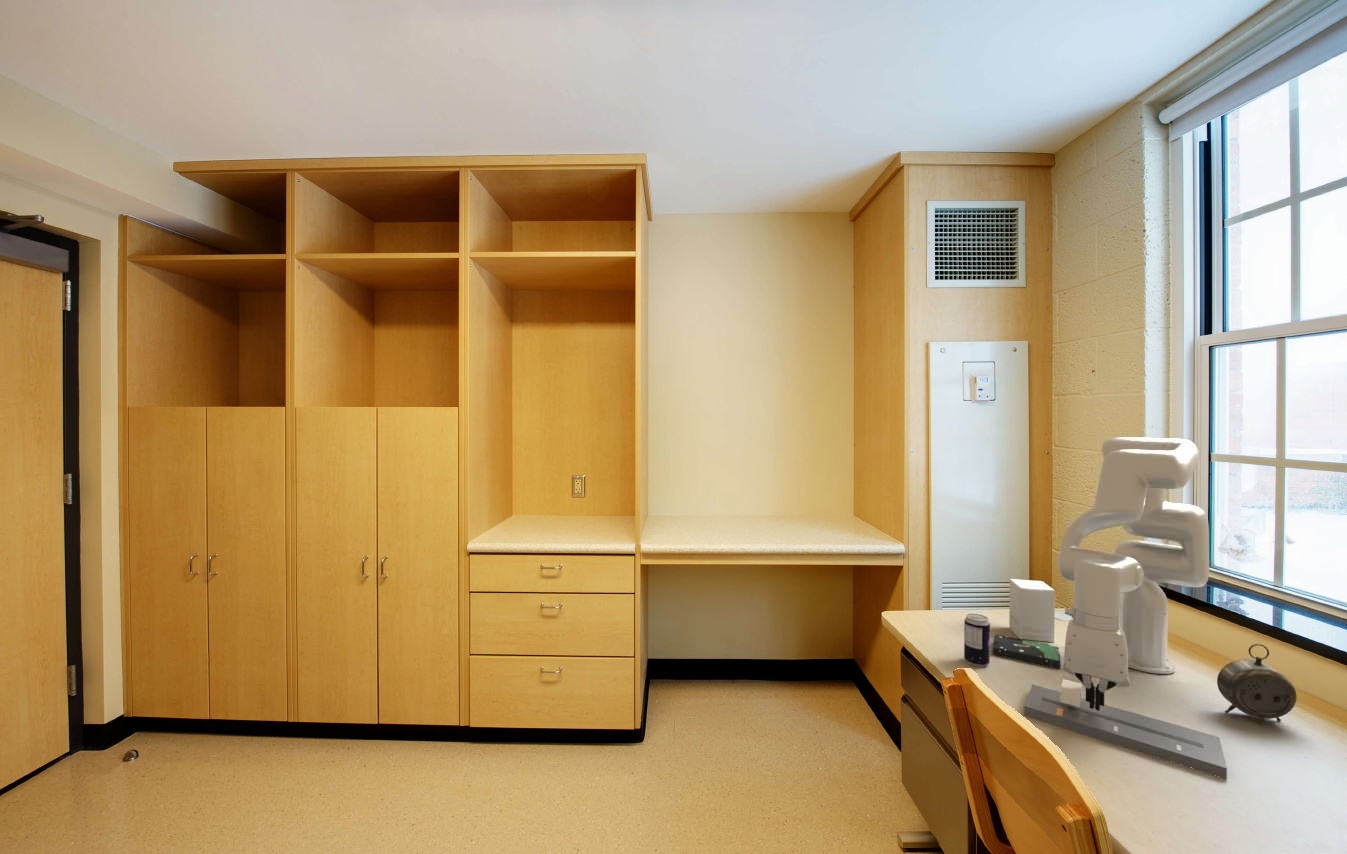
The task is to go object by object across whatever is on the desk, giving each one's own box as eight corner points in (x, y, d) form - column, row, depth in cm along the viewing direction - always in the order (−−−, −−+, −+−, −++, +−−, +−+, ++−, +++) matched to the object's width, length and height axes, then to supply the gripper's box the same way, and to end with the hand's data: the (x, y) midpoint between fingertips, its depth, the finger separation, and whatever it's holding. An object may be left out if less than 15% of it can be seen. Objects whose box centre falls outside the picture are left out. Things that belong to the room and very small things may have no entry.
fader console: (1032, 692, 121) (1032, 684, 121) (1218, 747, 101) (1218, 736, 101) (1023, 715, 112) (1023, 705, 112) (1226, 779, 92) (1226, 768, 92)
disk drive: (992, 657, 140) (1061, 671, 132) (992, 647, 140) (1061, 660, 132) (993, 643, 149) (1058, 655, 141) (993, 633, 149) (1058, 645, 141)
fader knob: (1063, 698, 114) (1063, 679, 114) (1081, 703, 112) (1081, 684, 112) (1060, 707, 111) (1061, 687, 111) (1079, 712, 109) (1080, 692, 109)
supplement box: (1055, 643, 147) (1056, 590, 147) (1019, 639, 150) (1019, 587, 149) (1042, 630, 156) (1043, 580, 156) (1008, 627, 158) (1009, 578, 158)
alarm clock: (1281, 718, 111) (1282, 642, 110) (1301, 732, 106) (1303, 653, 105) (1214, 708, 114) (1216, 635, 114) (1231, 722, 109) (1233, 645, 109)
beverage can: (993, 669, 132) (993, 622, 132) (968, 667, 134) (968, 620, 133) (984, 658, 138) (984, 613, 138) (960, 657, 139) (961, 612, 139)
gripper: (1049, 615, 111) (1048, 701, 111) (1145, 635, 101) (1143, 729, 101) (1053, 605, 116) (1052, 687, 117) (1144, 623, 106) (1142, 712, 107)
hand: (1094, 706), depth 109 cm, fingers closed
